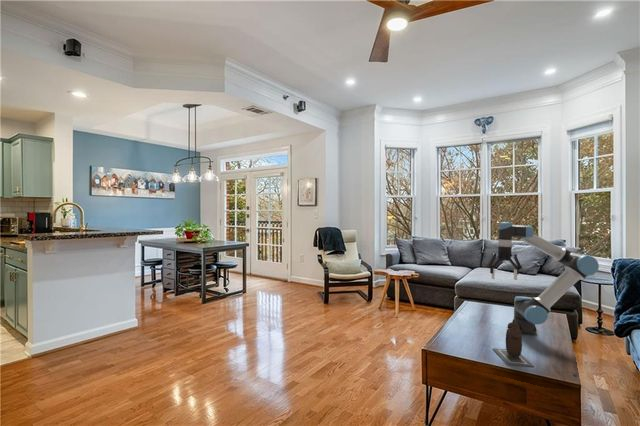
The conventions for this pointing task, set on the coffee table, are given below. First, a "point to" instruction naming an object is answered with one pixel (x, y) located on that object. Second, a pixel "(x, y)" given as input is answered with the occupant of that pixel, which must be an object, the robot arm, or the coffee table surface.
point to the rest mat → (512, 358)
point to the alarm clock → (513, 339)
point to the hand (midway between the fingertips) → (504, 279)
